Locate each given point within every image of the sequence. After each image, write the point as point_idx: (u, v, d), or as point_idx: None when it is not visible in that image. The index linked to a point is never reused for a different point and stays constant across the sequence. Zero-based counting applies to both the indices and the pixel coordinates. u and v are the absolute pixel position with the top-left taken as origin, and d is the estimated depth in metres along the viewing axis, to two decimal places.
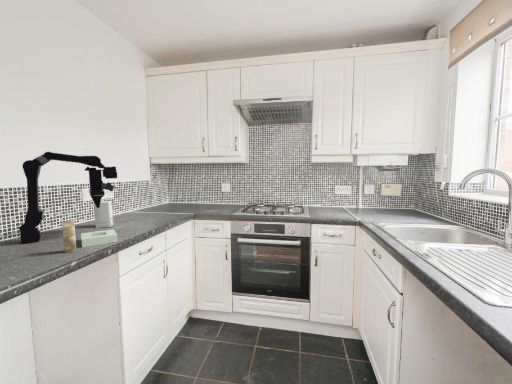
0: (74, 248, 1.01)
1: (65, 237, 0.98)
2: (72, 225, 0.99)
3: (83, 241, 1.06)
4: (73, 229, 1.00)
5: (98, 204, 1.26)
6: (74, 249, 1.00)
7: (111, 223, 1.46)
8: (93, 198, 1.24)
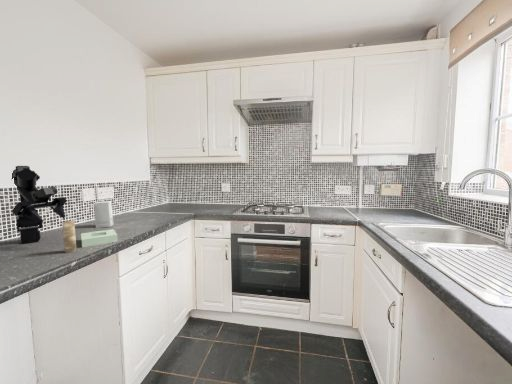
0: (74, 248, 1.01)
1: (65, 237, 0.98)
2: (72, 225, 0.99)
3: (83, 241, 1.06)
4: (73, 229, 1.00)
5: (37, 218, 0.96)
6: (74, 249, 1.00)
7: (111, 223, 1.46)
8: (26, 216, 0.96)
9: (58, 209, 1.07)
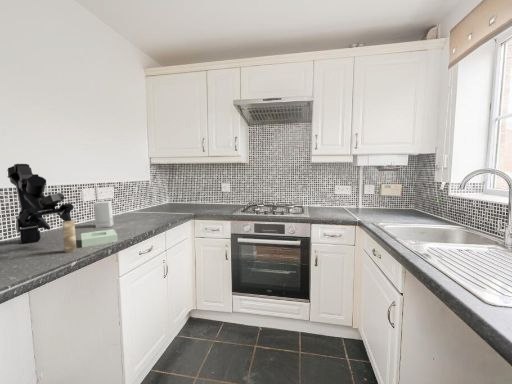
0: (74, 248, 1.01)
1: (65, 237, 0.98)
2: (72, 225, 0.99)
3: (83, 241, 1.06)
4: (73, 229, 1.00)
5: (44, 225, 0.95)
6: (74, 249, 1.00)
7: (111, 223, 1.46)
8: (34, 223, 0.95)
9: (65, 215, 1.06)
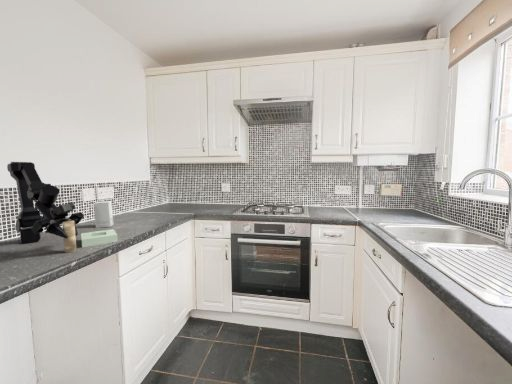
0: (74, 248, 1.01)
1: None
2: (72, 225, 0.99)
3: (83, 241, 1.06)
4: (73, 229, 1.00)
5: (62, 234, 0.97)
6: (74, 249, 1.00)
7: (111, 223, 1.46)
8: (52, 232, 0.97)
9: None
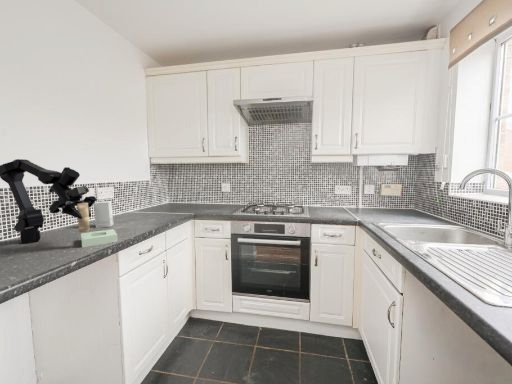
0: (88, 228, 1.07)
1: None
2: (86, 207, 1.06)
3: (83, 241, 1.06)
4: (87, 210, 1.06)
5: (77, 215, 1.04)
6: (88, 229, 1.07)
7: (111, 223, 1.46)
8: (67, 212, 1.03)
9: None
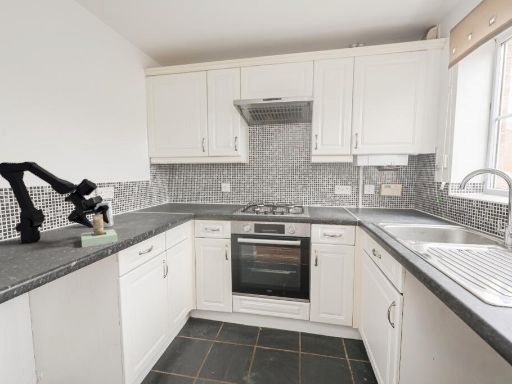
0: None
1: (95, 228, 1.13)
2: (101, 218, 1.14)
3: (83, 241, 1.06)
4: (102, 222, 1.14)
5: (88, 224, 1.09)
6: None
7: (111, 223, 1.46)
8: (79, 222, 1.09)
9: None
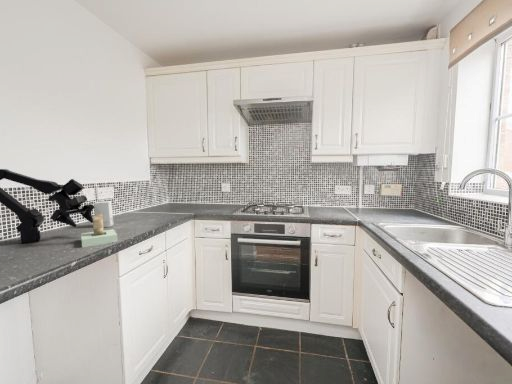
0: None
1: (95, 228, 1.13)
2: (101, 218, 1.14)
3: (83, 241, 1.06)
4: (101, 222, 1.14)
5: (72, 223, 1.11)
6: None
7: (111, 223, 1.46)
8: (62, 221, 1.11)
9: (87, 215, 1.21)
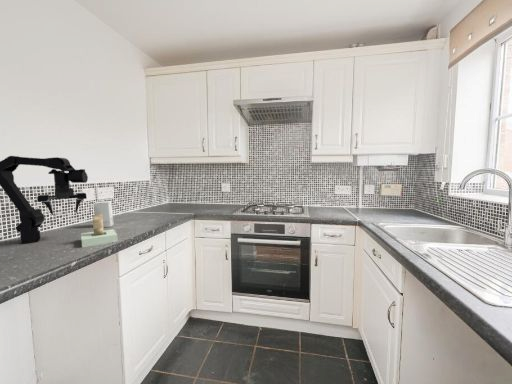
0: None
1: (95, 228, 1.13)
2: (101, 218, 1.14)
3: (83, 241, 1.06)
4: (101, 221, 1.15)
5: (50, 211, 1.14)
6: None
7: (111, 223, 1.46)
8: None
9: (76, 203, 1.20)
